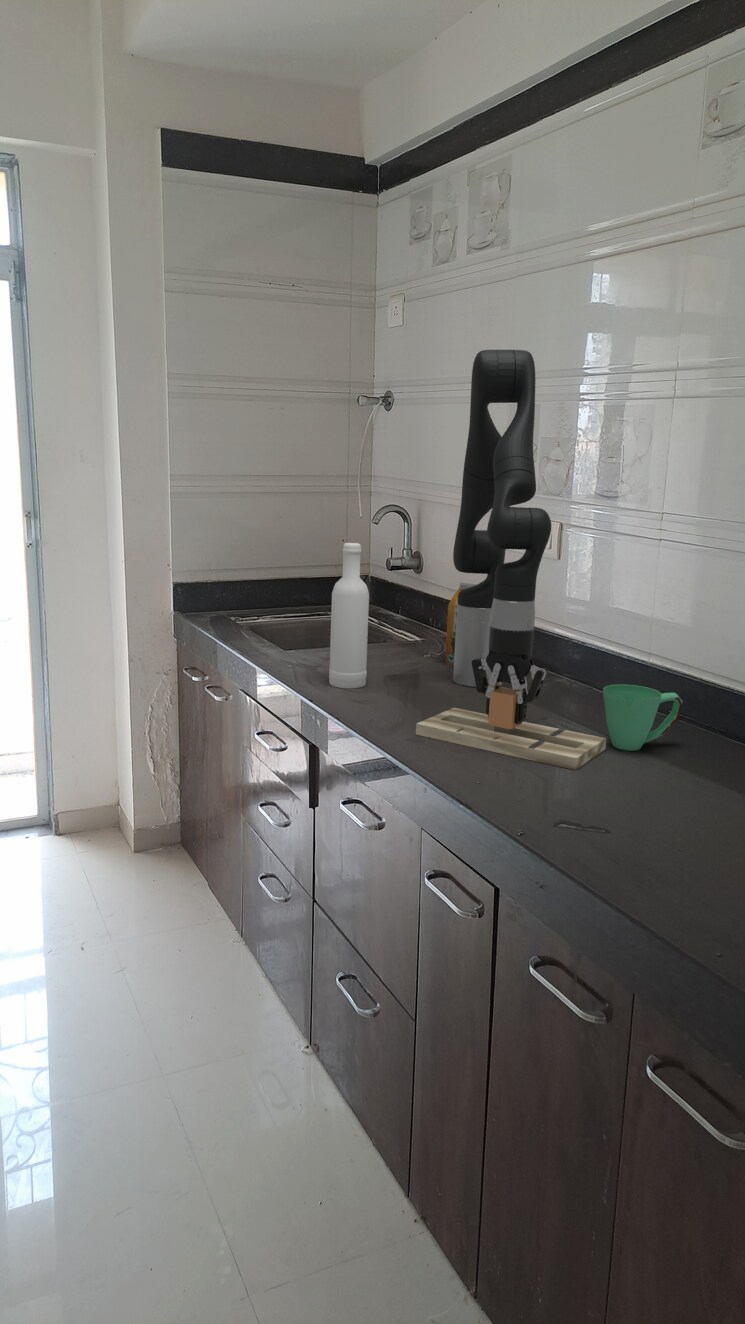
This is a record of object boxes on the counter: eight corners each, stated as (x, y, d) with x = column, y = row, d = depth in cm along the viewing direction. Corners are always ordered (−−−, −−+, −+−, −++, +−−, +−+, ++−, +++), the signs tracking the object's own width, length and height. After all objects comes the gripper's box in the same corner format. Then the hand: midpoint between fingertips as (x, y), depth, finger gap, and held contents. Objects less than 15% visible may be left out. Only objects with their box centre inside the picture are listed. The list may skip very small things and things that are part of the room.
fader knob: (498, 733, 171) (501, 686, 169) (520, 738, 168) (524, 691, 166) (487, 739, 167) (490, 691, 165) (510, 744, 165) (513, 695, 163)
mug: (615, 756, 161) (620, 699, 159) (588, 739, 171) (593, 685, 168) (691, 752, 165) (697, 697, 163) (661, 735, 174) (666, 683, 172)
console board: (453, 717, 181) (453, 707, 180) (605, 749, 165) (606, 737, 165) (415, 734, 169) (416, 723, 169) (575, 770, 154) (576, 757, 153)
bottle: (344, 690, 198) (349, 546, 191) (321, 682, 204) (325, 542, 197) (373, 685, 203) (379, 544, 196) (349, 678, 209) (354, 541, 202)
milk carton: (504, 662, 230) (509, 584, 226) (485, 670, 222) (490, 589, 217) (465, 656, 236) (469, 580, 232) (445, 663, 227) (449, 584, 223)
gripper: (559, 627, 162) (551, 723, 166) (484, 616, 170) (478, 708, 174) (542, 633, 156) (534, 733, 160) (465, 622, 164) (459, 717, 168)
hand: (505, 719), depth 167 cm, fingers closed on fader knob, 4 cm apart
